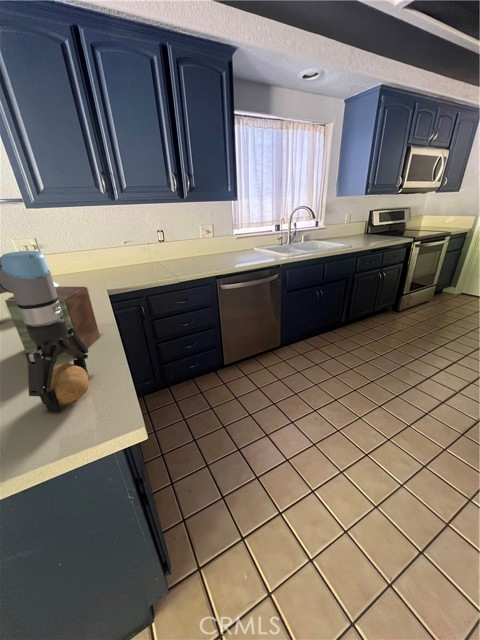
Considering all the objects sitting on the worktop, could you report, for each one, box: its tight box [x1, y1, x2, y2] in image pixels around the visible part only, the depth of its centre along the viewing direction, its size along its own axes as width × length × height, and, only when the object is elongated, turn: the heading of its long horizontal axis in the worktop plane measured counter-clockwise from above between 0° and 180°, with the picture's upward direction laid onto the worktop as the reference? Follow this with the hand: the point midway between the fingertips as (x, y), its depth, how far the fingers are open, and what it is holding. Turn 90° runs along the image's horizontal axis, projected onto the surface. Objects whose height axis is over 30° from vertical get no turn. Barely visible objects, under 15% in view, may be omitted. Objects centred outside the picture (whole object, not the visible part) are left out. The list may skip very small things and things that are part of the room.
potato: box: [50, 362, 90, 404], centre depth 69 cm, size 10×14×8 cm
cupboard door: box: [4, 298, 73, 357], centre depth 81 cm, size 8×18×20 cm, turn 88°
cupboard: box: [7, 286, 101, 350], centre depth 91 cm, size 12×18×20 cm, turn 88°
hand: (70, 394), depth 70 cm, fingers closed on potato, 12 cm apart
